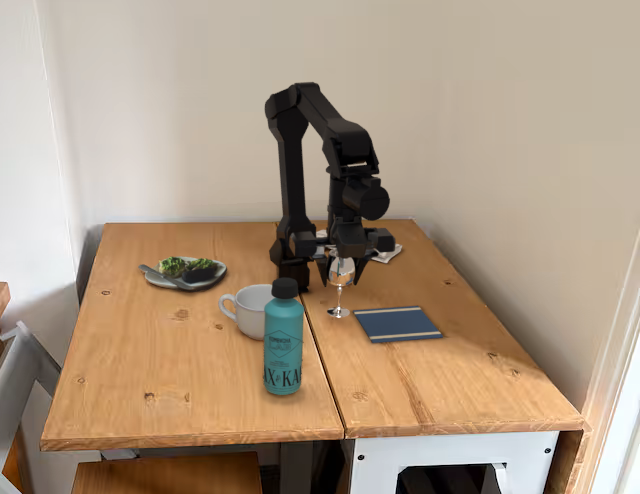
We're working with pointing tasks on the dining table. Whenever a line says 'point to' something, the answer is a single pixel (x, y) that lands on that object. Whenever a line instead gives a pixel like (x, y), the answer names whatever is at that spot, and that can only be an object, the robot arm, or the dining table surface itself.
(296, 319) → the beverage bottle
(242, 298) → the teacup
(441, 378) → the dining table surface
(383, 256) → the newspaper
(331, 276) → the wineglass
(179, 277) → the salad plate
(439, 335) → the napkin
